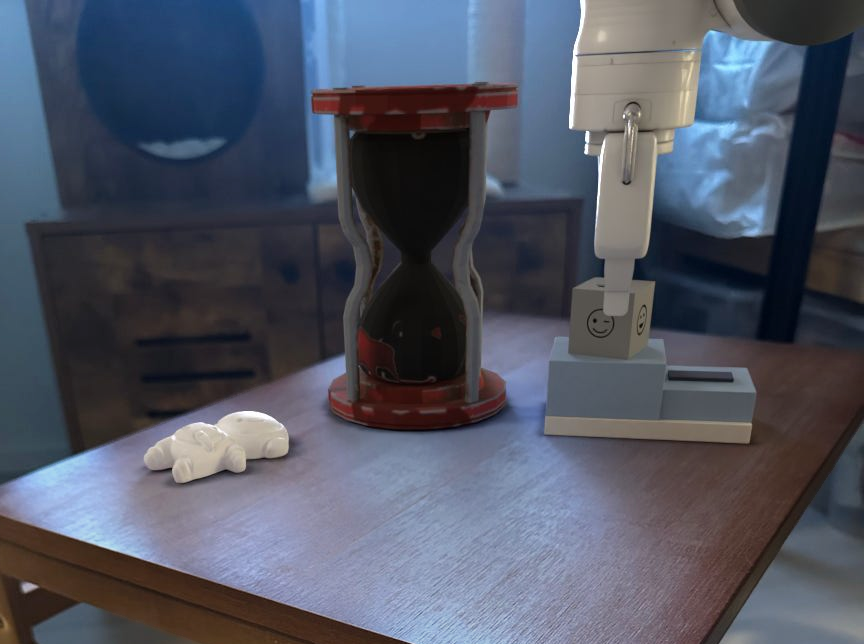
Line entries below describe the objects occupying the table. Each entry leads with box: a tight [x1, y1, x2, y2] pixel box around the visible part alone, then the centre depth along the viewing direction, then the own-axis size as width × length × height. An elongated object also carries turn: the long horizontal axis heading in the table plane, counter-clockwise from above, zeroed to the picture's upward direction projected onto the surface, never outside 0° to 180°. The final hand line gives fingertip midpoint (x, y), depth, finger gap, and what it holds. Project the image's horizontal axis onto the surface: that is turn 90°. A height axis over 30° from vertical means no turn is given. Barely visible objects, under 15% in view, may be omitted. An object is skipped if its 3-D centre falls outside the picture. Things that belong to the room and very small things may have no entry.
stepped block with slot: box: [543, 336, 758, 445], centre depth 78 cm, size 16×8×6 cm, turn 77°
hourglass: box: [310, 81, 519, 431], centre depth 79 cm, size 16×16×25 cm
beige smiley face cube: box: [568, 276, 656, 360], centre depth 76 cm, size 5×5×5 cm
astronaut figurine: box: [143, 410, 290, 484], centre depth 74 cm, size 9×12×3 cm
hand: (615, 301), depth 75 cm, fingers open, 8 cm apart
